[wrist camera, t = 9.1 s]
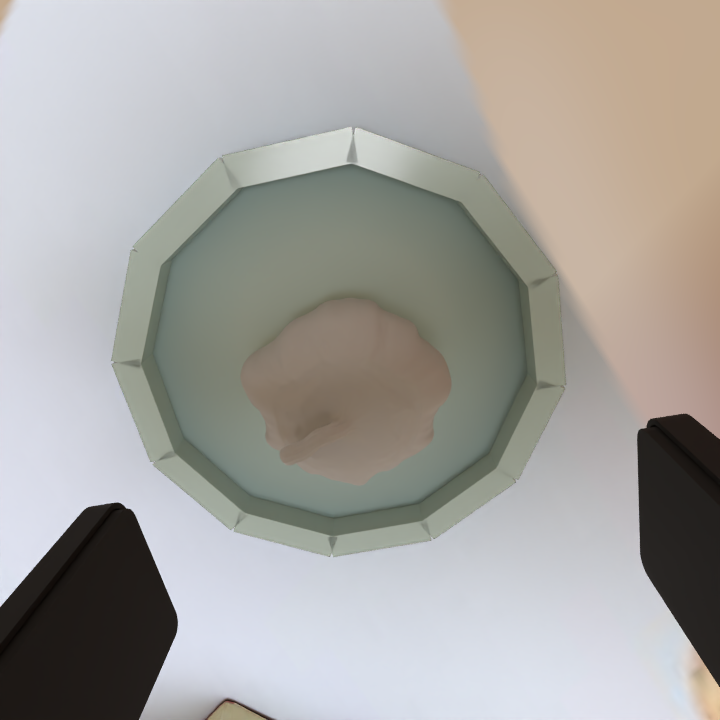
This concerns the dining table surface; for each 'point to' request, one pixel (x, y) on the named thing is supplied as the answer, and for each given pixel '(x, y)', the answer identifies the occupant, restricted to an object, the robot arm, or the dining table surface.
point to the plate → (333, 282)
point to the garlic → (347, 390)
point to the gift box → (233, 713)
